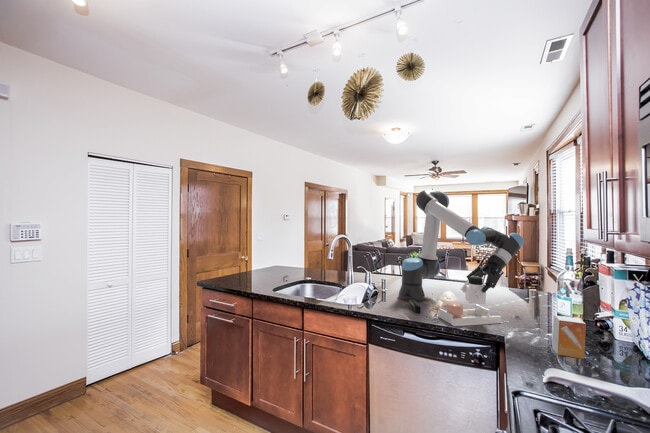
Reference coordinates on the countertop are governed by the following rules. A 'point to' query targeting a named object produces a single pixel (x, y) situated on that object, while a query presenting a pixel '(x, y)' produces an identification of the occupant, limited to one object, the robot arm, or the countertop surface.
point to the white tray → (468, 318)
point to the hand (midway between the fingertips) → (469, 293)
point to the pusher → (481, 311)
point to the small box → (569, 336)
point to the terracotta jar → (455, 310)
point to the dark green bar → (414, 306)
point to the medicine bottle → (474, 290)
